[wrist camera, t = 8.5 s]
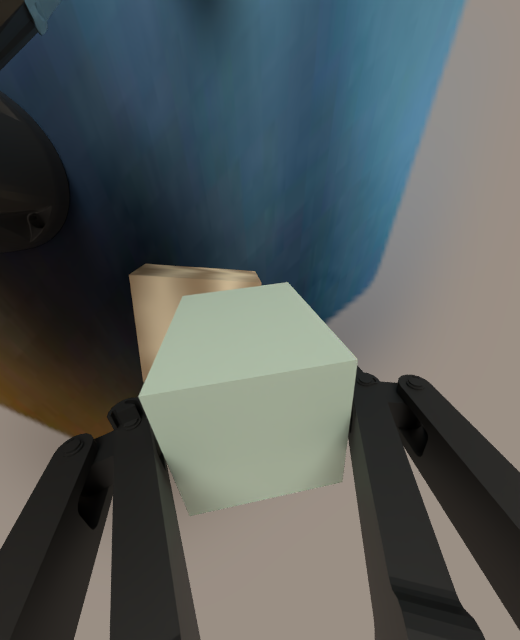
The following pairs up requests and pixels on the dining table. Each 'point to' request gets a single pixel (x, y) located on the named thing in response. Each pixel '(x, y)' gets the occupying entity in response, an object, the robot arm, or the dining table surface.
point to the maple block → (173, 298)
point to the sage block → (249, 397)
